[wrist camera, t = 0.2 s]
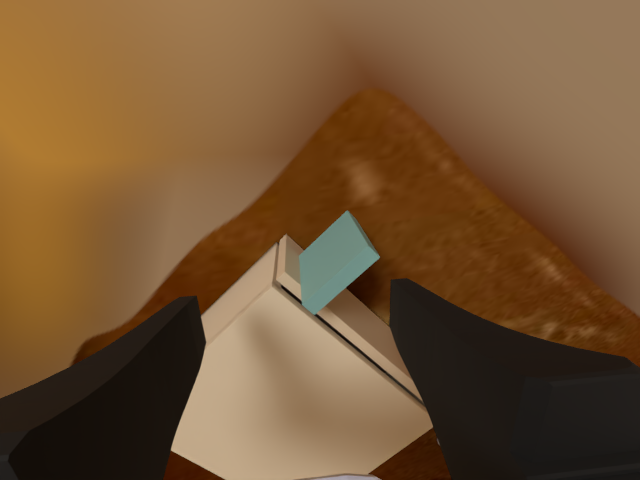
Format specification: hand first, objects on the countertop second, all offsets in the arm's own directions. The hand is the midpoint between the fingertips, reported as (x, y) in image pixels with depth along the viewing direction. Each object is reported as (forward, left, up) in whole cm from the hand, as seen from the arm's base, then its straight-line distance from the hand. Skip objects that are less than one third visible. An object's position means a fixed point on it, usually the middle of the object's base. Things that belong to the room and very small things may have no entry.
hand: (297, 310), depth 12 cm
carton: (-7, +7, -10) cm, 14 cm away
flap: (-7, -1, -9) cm, 12 cm away
